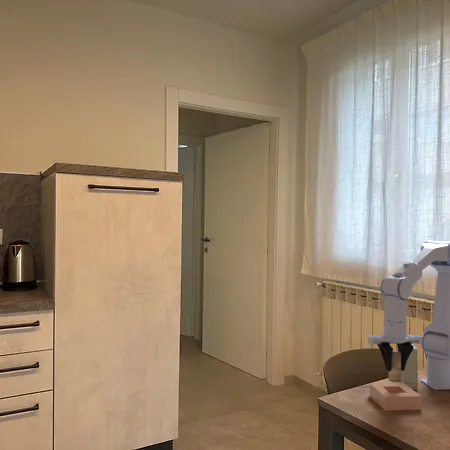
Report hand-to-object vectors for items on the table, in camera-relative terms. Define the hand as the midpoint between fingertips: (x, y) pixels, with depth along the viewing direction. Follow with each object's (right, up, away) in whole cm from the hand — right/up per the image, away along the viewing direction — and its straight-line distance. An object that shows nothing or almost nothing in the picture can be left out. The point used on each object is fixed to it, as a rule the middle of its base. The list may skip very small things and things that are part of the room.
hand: (394, 369), depth 123 cm
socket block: (0, -9, 0) cm, 9 cm away
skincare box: (+9, -9, +13) cm, 18 cm away
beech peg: (0, -3, 0) cm, 3 cm away
